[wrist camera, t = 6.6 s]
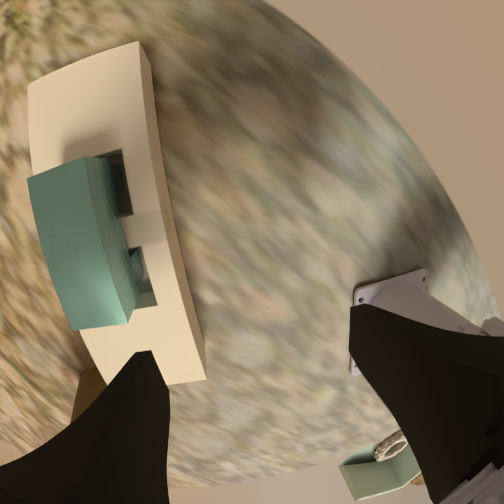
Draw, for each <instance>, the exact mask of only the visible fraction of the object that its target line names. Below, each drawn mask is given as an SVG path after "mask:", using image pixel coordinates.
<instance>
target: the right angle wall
mask: <svg viewBox="0 0 504 504" xmlns="http://www.w3.org/2000/svg"><path fill="white" fill-rule="evenodd" d="M396 443H398V444H396ZM394 444H396V445H395V446H393V445H394ZM391 446H393V447H391ZM390 447H391V448H390ZM338 467H339V469H340V471H341V473H342V475H343V477H344V479H345V481H346V483H347V485H348V487H349V489H350V491H351V494H352V495H353V498H354V500H355V501H359V500H363V499H367V498H371V497H374V496H378V495H382V494H385V493H388V492H391V491H394V490H397V489H400V488H402V487H403V486H405V485H406V484H407V483H408V482H410V481H411V480H412V479H414V478H415V477H416V476H417V475H418V474H420V473H421V470H420V468H419V465H418V463H417V461H416V458H415V456H414V454H413V452H412V450H411V447H410V445H409V443H408V441H407V439H406V438H405V436H404V434H403V432H402V430H401V431H399V432H397V433H396V434H394V435H393V436H391V437H389V438H388V439H386V440H384V441H383V442H382V443H377V444H374V445H371V446H368V447H366V448H363V449H361V450H358V451H356V452H354V453H353V454H352V455H351V456H350V457H349V458H347V459H346V460H345V461H344V462H343V463H342V464H340V465H339V466H338Z"/></svg>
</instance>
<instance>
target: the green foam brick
mask: <svg viewBox="0 0 504 504" xmlns="http://www.w3.org/2000/svg"><path fill="white" fill-rule="evenodd" d="M27 182H28V188H29V194H30V199H31V204H32V209H33V214H34V218H35V223H36V227H37V231H38V235H39V239H40V242H41V246H42V250H43V253H44V256H45V260H46V263H47V266H48V269H49V272H50V275H51V278H52V281H53V284H54V287H55V289H56V292H57V295H58V297H59V300H60V303H61V305H62V308H63V310H64V312H65V315H66V317H67V319H68V322H69V324H70V326H71V329H72V331H74V330H82V329H90V328H98V327H106V326H113V325H120V324H127V323H128V322H129V319H130V317H131V315H132V312H133V310H134V308H135V305H136V303H137V301H138V298H139V296H140V291H139V288H138V286H139V284H140V282H141V280H142V278H143V276H144V270H143V267H142V263H141V259H140V256H139V252H138V249H133V250H128V249H127V245H126V241H125V237H124V233H123V229H122V225H121V221H120V216H119V212H118V207H117V202H116V197H115V194H118V193H121V192H125V190H124V184H123V179H122V173H121V167H120V164H109V159H108V158H96V157H82V158H79V159H76V160H73V161H70V162H67V163H65V164H62V165H59V166H57V167H54V168H52V169H49V170H47V171H44V172H42V173H39V174H37V175H34V176H32V177H30V178H28V179H27Z"/></svg>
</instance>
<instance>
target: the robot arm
mask: <svg viewBox="0 0 504 504" xmlns="http://www.w3.org/2000/svg"><path fill="white" fill-rule="evenodd" d="M427 278H428V270H427V269H425V268H422V269H419V270H416V271H413V272H409V273H406V274H403V275H400V276H397V277H393V278H390V279H387V280H383V281H380V282H377V283H373V284H370V285H366V286H363V287H359V288H357V289H356V290H355V292H354V306H353V307H350V334H349V352H350V354H351V366H350V374H351V375H352V376H357V375H360V374H361V375H362V376H363V377H364V379H365V380H366V381H367V383H368V384H369V385H370V387H371V388H372V389H373V391H374V392H375V393H376V395H377V396H378V398H379V399H380V400H381V402H382V403H383V404H384V406H385V407H386V408H387V410H388V411H389V412H390V413H391V414H392V415H393V416H394V418H395V419H396V421H397V423H398V425H399V427H400V428H401V430H402V432H403V434H404V436H405V438H406V439H407V441H408V443H409V445H410V447H411V450H412V452H413V454H414V456H415V458H416V461H417V463H418V465H419V468H420V470H421V472H422V475H423V478H424V481H425V484H426V486H427V489H428V493H429V496H430V499H431V500H432V502H433V504H439V503H440V504H504V322H503V321H502V320H500V319H498V318H497V317H492V318H490V319H489V320H488V319H485V320H484V322H483V324H482V326H481V327H482V328H481V327H478V326H476V325H474V324H473V323H471V322H470V321H468V320H467V319H466V318H464V317H463V316H461V315H460V314H458V313H457V312H455V311H454V310H452V309H451V308H449V307H448V306H446V305H445V304H443V303H442V302H440V301H439V300H437V299H435V298H434V297H432V296H431V295H429V294H428V293H426V287H427ZM422 279H423V280H422ZM361 297H362V298H361ZM360 298H361V300H360V301H359V299H360ZM355 364H356V365H355ZM169 424H170V398H169V389H168V387H167V385H166V383H165V381H164V379H163V376H162V374H161V372H160V370H159V367H158V365H157V363H156V360H155V358H154V356H153V353H152V351H151V350H148V351H140V352H135V353H134V354H133V355H132V356H131V358H130V359H129V360H128V361H127V362H126V364H125V365H124V366H123V367H122V368H121V370H120V371H119V372H118V373H117V375H116V376H115V377H114V378H113V379H112V381H111V382H110V383H109V384H108V386H107V387H106V388H105V389H104V390H103V391H102V392H101V394H100V395H99V396H98V397H97V398H96V399H95V400H94V401H93V402H92V403H91V405H90V406H89V407H88V408H87V409H86V410H85V411H84V412H83V413H82V414H81V415H80V416H79V417H78V418H76V419H75V420H74V421H73V422H72V423H71V424H70V425H69V426H67V427H66V428H65V429H64V430H62V431H61V432H60V433H58V434H57V435H56V436H54V437H53V438H52V439H50V440H49V441H48V442H46V443H45V444H43V445H42V446H40V447H39V448H37V449H35V450H34V451H32V452H30V453H28V454H26V455H25V456H23V457H21V458H19V459H17V460H14V461H12V462H10V463H7V464H5V465H2V466H0V504H170V503H169V496H168V486H167V450H168V437H169ZM461 487H462V488H461ZM449 496H450V497H449ZM442 501H443V502H442Z"/></svg>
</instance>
